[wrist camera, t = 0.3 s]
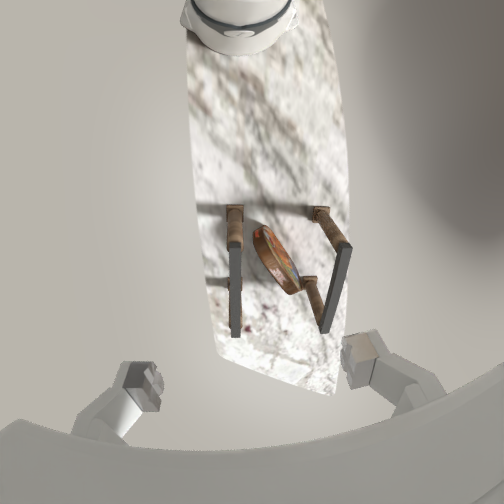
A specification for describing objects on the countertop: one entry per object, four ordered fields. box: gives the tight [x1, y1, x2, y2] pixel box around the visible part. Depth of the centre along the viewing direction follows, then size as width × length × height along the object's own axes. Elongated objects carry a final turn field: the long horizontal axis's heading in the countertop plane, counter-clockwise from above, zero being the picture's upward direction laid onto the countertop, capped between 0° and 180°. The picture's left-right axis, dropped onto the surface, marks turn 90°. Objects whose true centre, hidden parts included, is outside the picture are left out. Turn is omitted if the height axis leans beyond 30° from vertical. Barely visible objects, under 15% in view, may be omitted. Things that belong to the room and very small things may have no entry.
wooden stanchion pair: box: [226, 205, 348, 329], centre depth 49 cm, size 19×19×12 cm
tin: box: [253, 225, 303, 295], centre depth 51 cm, size 15×3×8 cm, turn 33°
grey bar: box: [229, 242, 241, 338], centre depth 42 cm, size 18×2×2 cm, turn 178°
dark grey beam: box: [319, 243, 353, 334], centre depth 43 cm, size 18×2×2 cm, turn 178°
